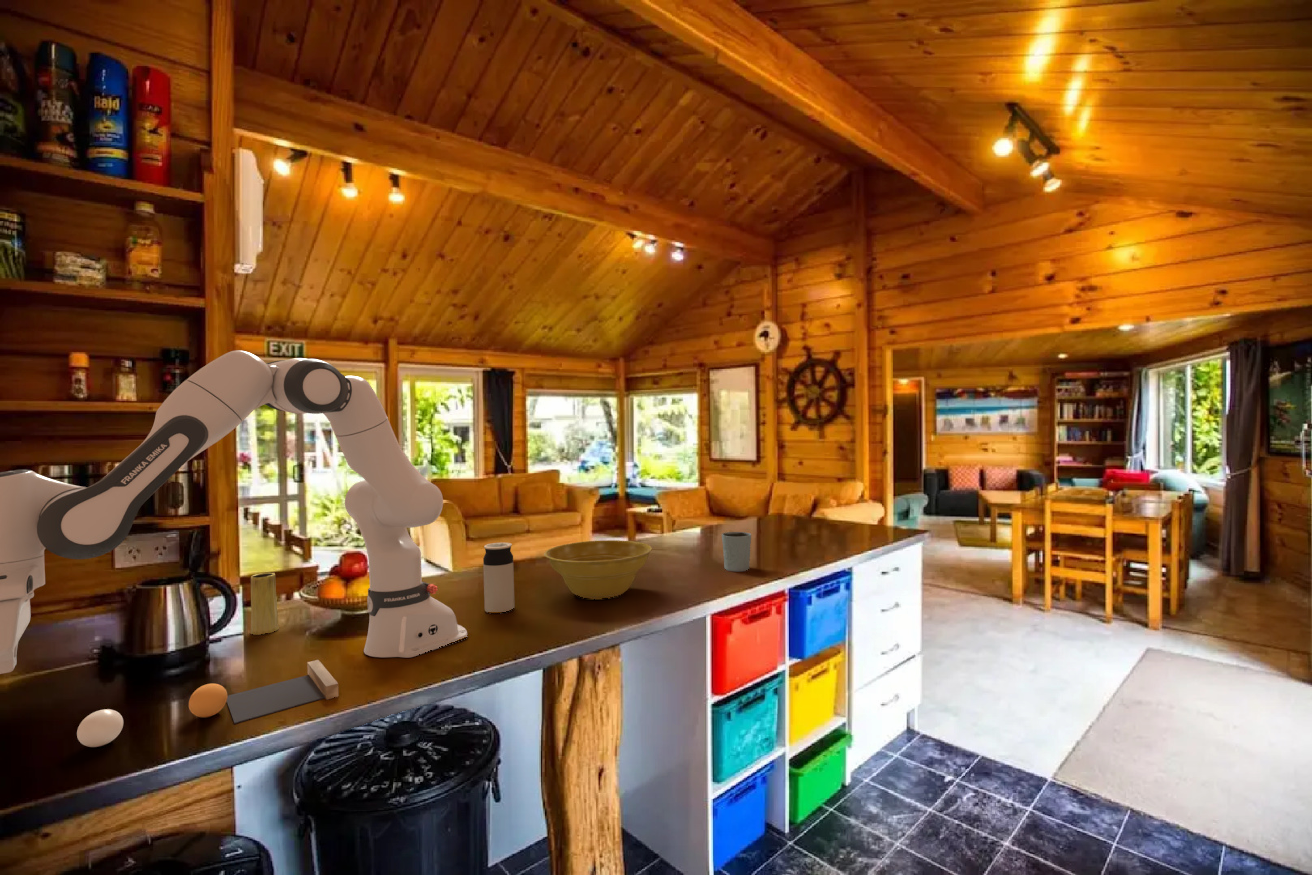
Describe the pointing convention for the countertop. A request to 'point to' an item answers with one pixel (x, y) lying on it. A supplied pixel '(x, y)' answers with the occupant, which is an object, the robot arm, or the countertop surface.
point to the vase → (263, 604)
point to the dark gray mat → (273, 698)
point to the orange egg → (208, 700)
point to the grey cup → (736, 551)
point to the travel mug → (498, 577)
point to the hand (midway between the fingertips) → (6, 670)
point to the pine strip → (323, 679)
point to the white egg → (100, 728)
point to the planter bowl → (598, 566)
